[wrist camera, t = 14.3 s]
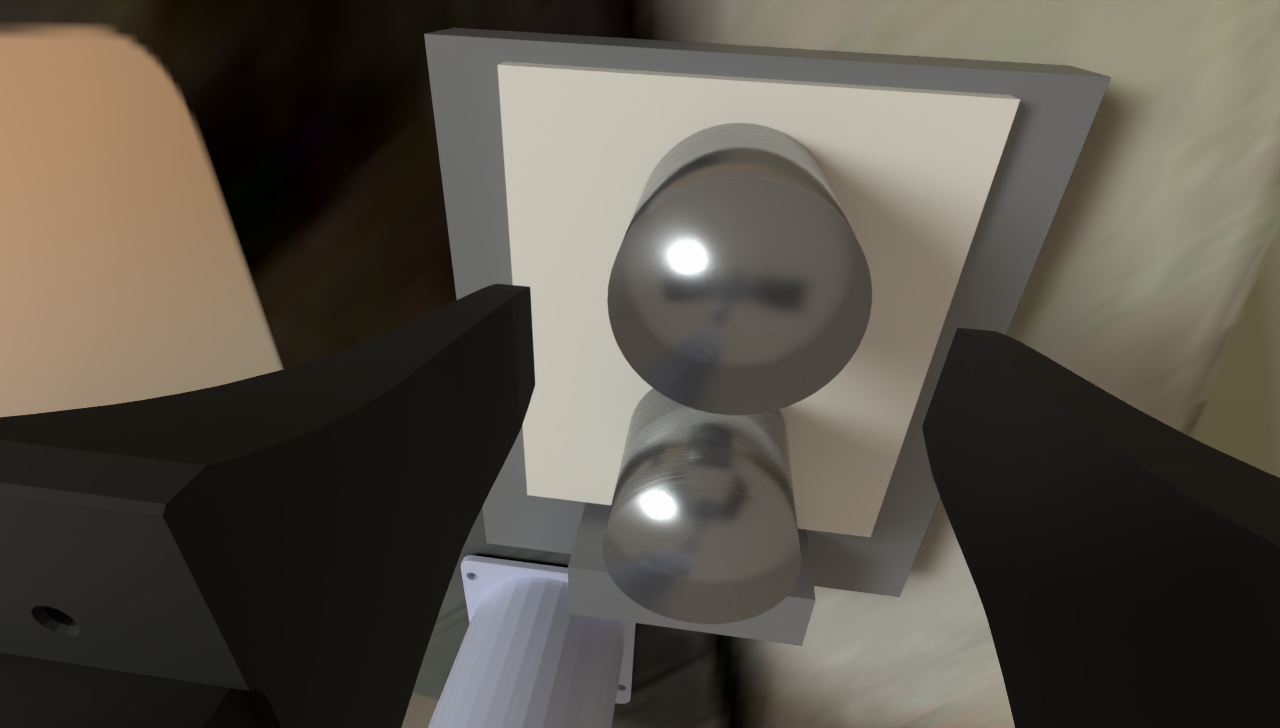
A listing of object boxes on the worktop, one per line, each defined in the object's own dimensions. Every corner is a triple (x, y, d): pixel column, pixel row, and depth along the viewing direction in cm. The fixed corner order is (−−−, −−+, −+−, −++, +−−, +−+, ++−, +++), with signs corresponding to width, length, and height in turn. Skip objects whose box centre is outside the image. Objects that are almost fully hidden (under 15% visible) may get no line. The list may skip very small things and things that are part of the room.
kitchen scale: (888, 555, 25) (922, 685, 21) (502, 507, 27) (453, 619, 22) (1071, 66, 16) (1210, 105, 11) (454, 27, 17) (350, 48, 12)
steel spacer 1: (830, 305, 17) (863, 412, 13) (649, 315, 18) (624, 418, 14) (837, 112, 15) (882, 165, 10) (626, 133, 16) (589, 190, 11)
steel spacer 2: (769, 506, 21) (777, 637, 17) (623, 483, 22) (596, 606, 17) (803, 385, 19) (823, 505, 14) (636, 360, 19) (608, 472, 15)
